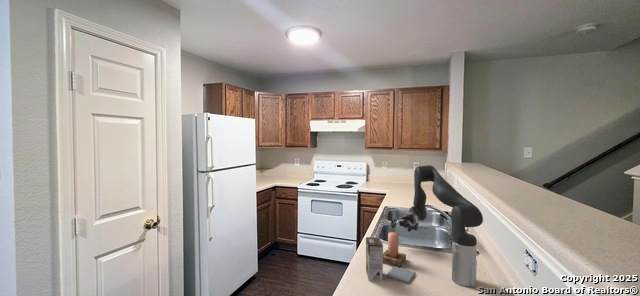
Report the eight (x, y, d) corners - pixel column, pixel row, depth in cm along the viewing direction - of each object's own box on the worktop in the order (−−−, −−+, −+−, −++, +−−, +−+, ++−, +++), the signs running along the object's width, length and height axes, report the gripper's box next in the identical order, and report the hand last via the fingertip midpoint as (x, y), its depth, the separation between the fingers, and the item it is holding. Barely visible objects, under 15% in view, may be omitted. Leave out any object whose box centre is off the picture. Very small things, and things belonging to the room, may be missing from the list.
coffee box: (365, 270, 129) (365, 236, 128) (379, 270, 129) (379, 237, 128) (368, 280, 120) (368, 244, 119) (383, 281, 120) (383, 244, 119)
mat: (415, 274, 126) (415, 272, 126) (408, 283, 118) (408, 281, 118) (393, 268, 132) (393, 266, 131) (386, 277, 123) (386, 274, 123)
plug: (399, 260, 140) (399, 233, 139) (396, 264, 135) (396, 236, 135) (390, 258, 142) (390, 231, 142) (386, 261, 138) (386, 234, 138)
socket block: (406, 260, 140) (406, 254, 140) (399, 267, 132) (399, 261, 132) (387, 255, 146) (387, 249, 146) (379, 262, 138) (379, 256, 138)
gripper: (397, 211, 165) (387, 218, 152) (422, 216, 157) (414, 223, 143) (397, 224, 165) (387, 232, 152) (422, 228, 157) (413, 238, 144)
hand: (400, 228), depth 148 cm, fingers open, 8 cm apart
